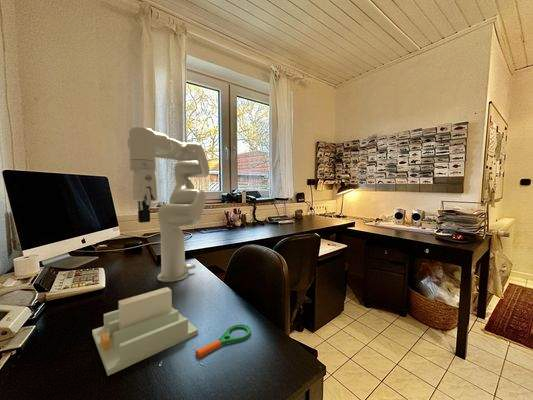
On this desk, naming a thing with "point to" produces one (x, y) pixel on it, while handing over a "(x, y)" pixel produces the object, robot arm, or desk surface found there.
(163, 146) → the robot arm
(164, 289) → the panel
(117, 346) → the rack
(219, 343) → the magnifying glass
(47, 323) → the desk surface
